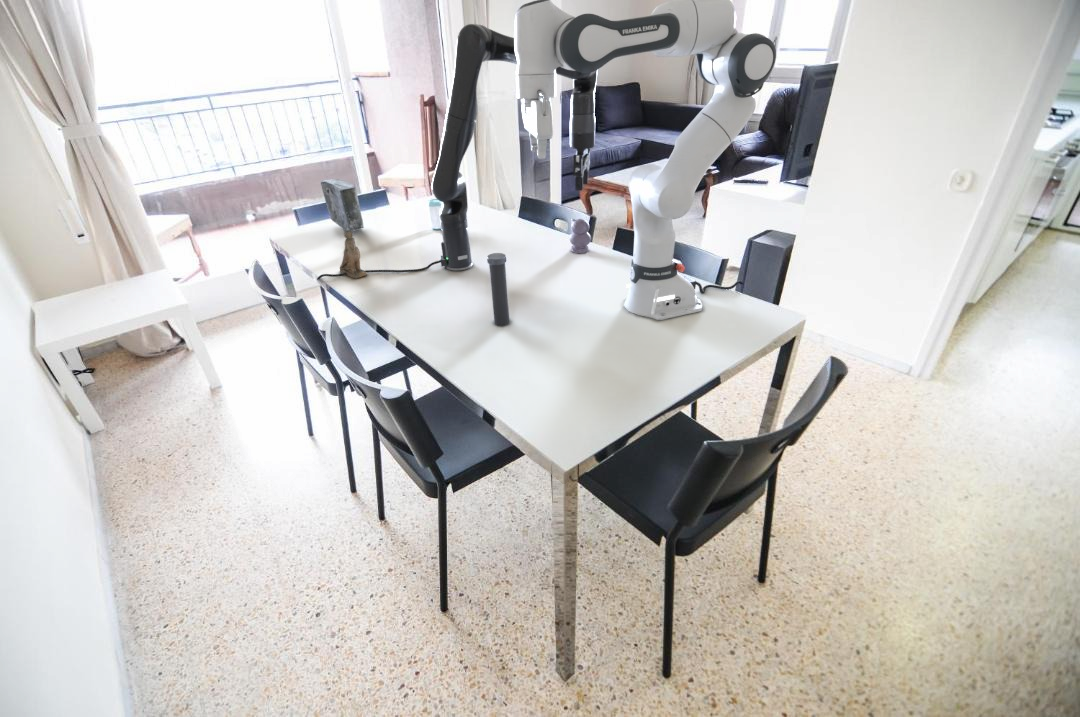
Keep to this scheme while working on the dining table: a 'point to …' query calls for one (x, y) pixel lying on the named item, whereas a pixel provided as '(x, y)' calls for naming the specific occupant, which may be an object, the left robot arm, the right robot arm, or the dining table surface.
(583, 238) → the cat figurine
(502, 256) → the lid
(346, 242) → the worn brown figurine
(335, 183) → the concrete block
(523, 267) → the dining table surface
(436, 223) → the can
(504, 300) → the grey cylinder
